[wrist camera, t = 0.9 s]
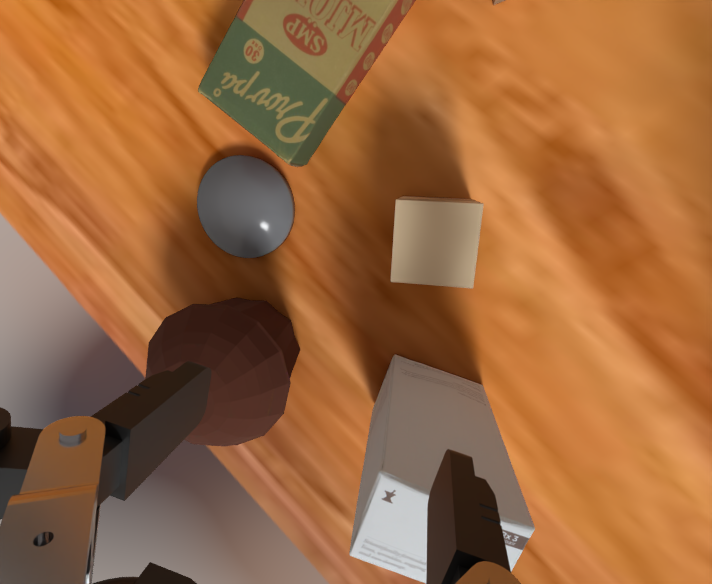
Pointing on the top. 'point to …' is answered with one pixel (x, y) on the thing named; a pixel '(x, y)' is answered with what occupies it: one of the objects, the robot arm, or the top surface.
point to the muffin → (231, 365)
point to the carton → (297, 66)
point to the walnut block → (497, 1)
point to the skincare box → (427, 465)
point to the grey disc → (245, 206)
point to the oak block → (436, 241)
